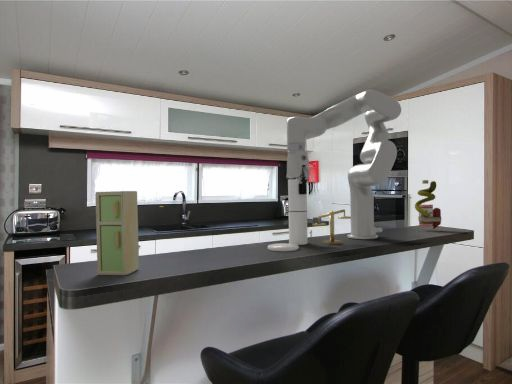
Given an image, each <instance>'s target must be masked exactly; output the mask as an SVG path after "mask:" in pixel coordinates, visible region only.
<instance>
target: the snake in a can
mask: <svg viewBox="0 0 512 384" xmlns="http://www.w3.org/2000/svg"><path fill="white" fill-rule="evenodd" d="M421 182H422V184H423V185H424V184H425V185H427V184H429V180H428V179H424V180H423V179H422V181H421ZM436 188H437V182H436V181H434V180H432V181H431V182H430V184H429V187H428V188H424V189H420V190H417V195H418V196H420V197H424V198H422V199H419V200H418V201H416V202H415V204H414V208H415V210H416V211H417V212H418V216H417V217H418V218H417V219H418V224H419V227H432V228H433V230H434V229H437V228H438V227H439V226H441V224H442V212H441V211H442V210H441V208H440V207H434V205H433V204H425V203H427V202H430V201H434V200H435V199H436V195H435V194H434V193H433V192H435V190H436Z"/></svg>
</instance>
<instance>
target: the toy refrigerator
mask: <svg viewBox="0 0 512 384" xmlns="http://www.w3.org/2000/svg"><path fill="white" fill-rule="evenodd" d="M94 196H95V225H96V226H95V228H96V231H95V232H96V261H97V262H96V264H97V267H96V268H97V269H96V270H97V275H99V276H127V275H129V274H131V273H134V272H135V271H138V270H139V269H140V254H139V251H140V250H139V249H140V248H139V247H140V246H139V217H138V214H139V212H138V211H139V210H138V191H137V190H119V191H116V190H115V191H112V190H111V191H96V192H95V194H94Z"/></svg>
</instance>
